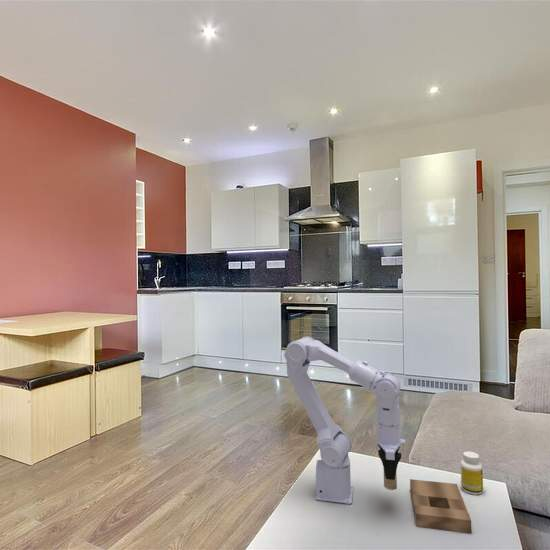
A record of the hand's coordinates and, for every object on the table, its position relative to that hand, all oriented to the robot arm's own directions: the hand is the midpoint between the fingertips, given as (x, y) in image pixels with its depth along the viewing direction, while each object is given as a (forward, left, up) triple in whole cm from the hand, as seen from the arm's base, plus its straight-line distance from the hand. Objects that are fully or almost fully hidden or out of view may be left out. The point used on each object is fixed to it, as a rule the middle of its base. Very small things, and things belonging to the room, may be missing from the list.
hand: (390, 475), depth 98 cm
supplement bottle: (+22, +13, -8) cm, 27 cm away
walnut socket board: (+12, +1, -8) cm, 14 cm away
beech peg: (0, 0, -3) cm, 3 cm away
